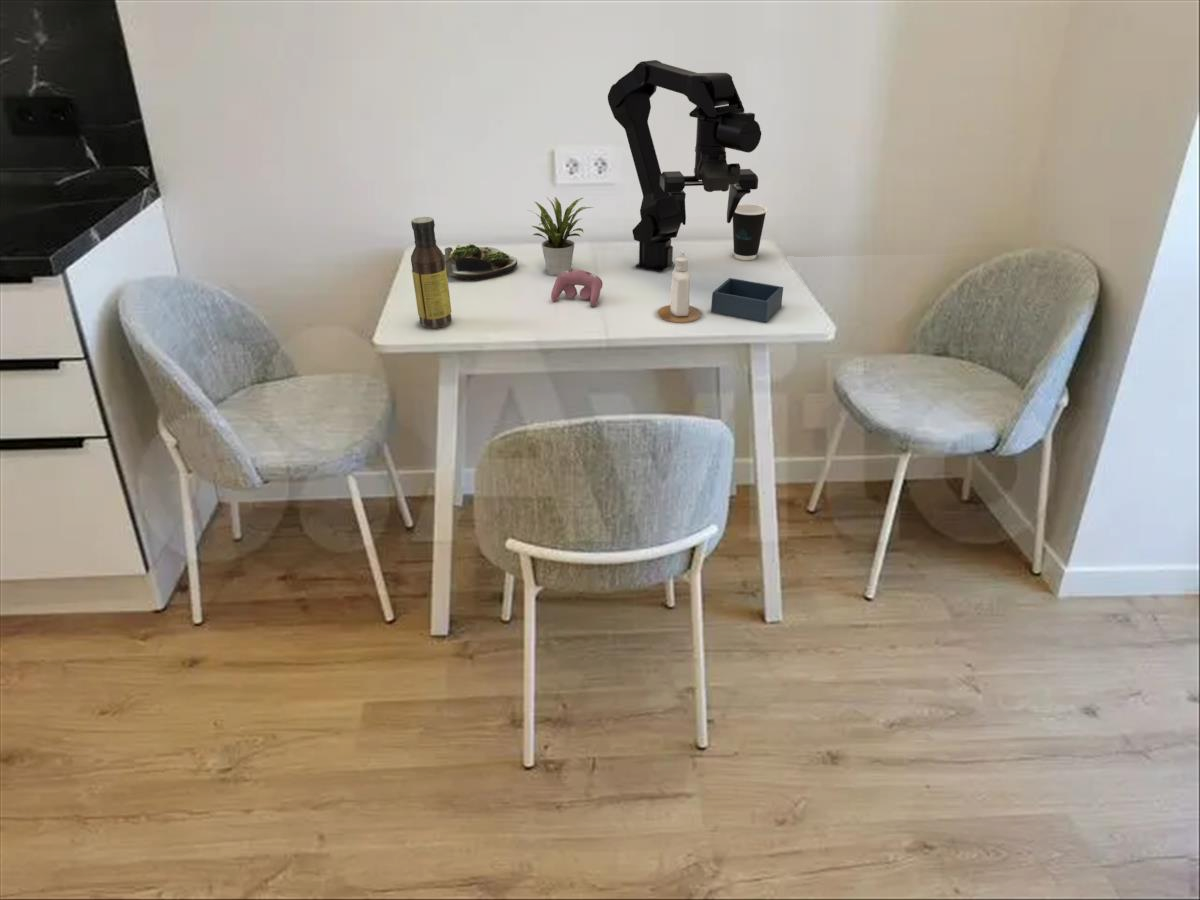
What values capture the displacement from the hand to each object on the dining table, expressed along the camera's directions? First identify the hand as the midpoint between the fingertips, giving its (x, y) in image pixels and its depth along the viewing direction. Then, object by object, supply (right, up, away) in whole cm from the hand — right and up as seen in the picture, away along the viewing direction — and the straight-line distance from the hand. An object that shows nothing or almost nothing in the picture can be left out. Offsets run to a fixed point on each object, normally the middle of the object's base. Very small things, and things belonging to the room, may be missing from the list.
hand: (706, 223), depth 179 cm
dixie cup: (+12, -2, +22) cm, 25 cm away
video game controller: (-26, -16, -1) cm, 31 cm away
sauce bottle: (-53, -22, -11) cm, 58 cm away
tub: (+7, -18, -5) cm, 20 cm away
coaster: (-6, -20, -7) cm, 22 cm away
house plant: (-29, -7, +14) cm, 33 cm away
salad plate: (-49, -6, +16) cm, 52 cm away
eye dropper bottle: (-6, -19, -7) cm, 21 cm away
